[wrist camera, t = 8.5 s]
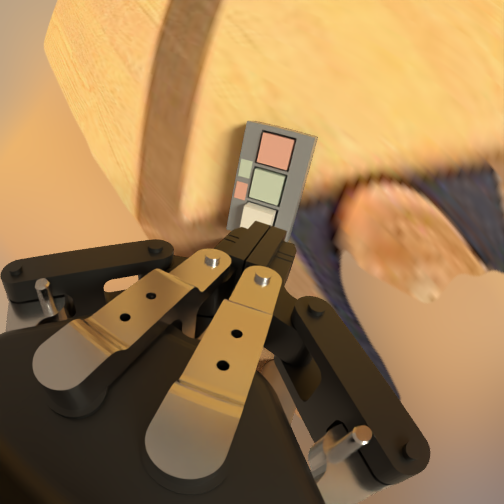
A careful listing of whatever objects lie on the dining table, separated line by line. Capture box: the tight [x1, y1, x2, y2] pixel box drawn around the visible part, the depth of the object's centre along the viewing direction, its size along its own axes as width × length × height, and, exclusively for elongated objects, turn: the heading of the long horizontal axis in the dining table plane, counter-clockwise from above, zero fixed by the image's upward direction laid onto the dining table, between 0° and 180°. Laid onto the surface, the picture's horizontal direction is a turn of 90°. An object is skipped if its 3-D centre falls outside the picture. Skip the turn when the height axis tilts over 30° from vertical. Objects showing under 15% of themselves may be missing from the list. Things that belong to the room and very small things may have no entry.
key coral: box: [257, 132, 296, 170], centre depth 34 cm, size 4×4×2 cm
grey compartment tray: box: [226, 121, 318, 242], centre depth 38 cm, size 16×9×3 cm, turn 168°
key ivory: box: [240, 202, 276, 229], centre depth 38 cm, size 4×4×2 cm
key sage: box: [249, 167, 287, 205], centre depth 37 cm, size 4×4×2 cm
